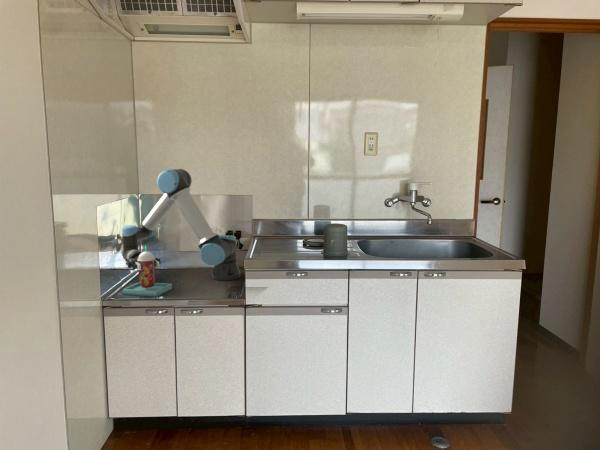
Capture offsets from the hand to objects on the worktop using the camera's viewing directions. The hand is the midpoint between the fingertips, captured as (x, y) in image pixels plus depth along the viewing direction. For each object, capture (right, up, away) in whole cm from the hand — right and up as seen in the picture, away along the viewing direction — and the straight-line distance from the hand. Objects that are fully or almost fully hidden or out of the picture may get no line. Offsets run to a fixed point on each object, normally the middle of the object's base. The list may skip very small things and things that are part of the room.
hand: (149, 266), depth 216 cm
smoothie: (-2, -10, +5) cm, 12 cm away
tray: (-3, -13, +6) cm, 14 cm away
